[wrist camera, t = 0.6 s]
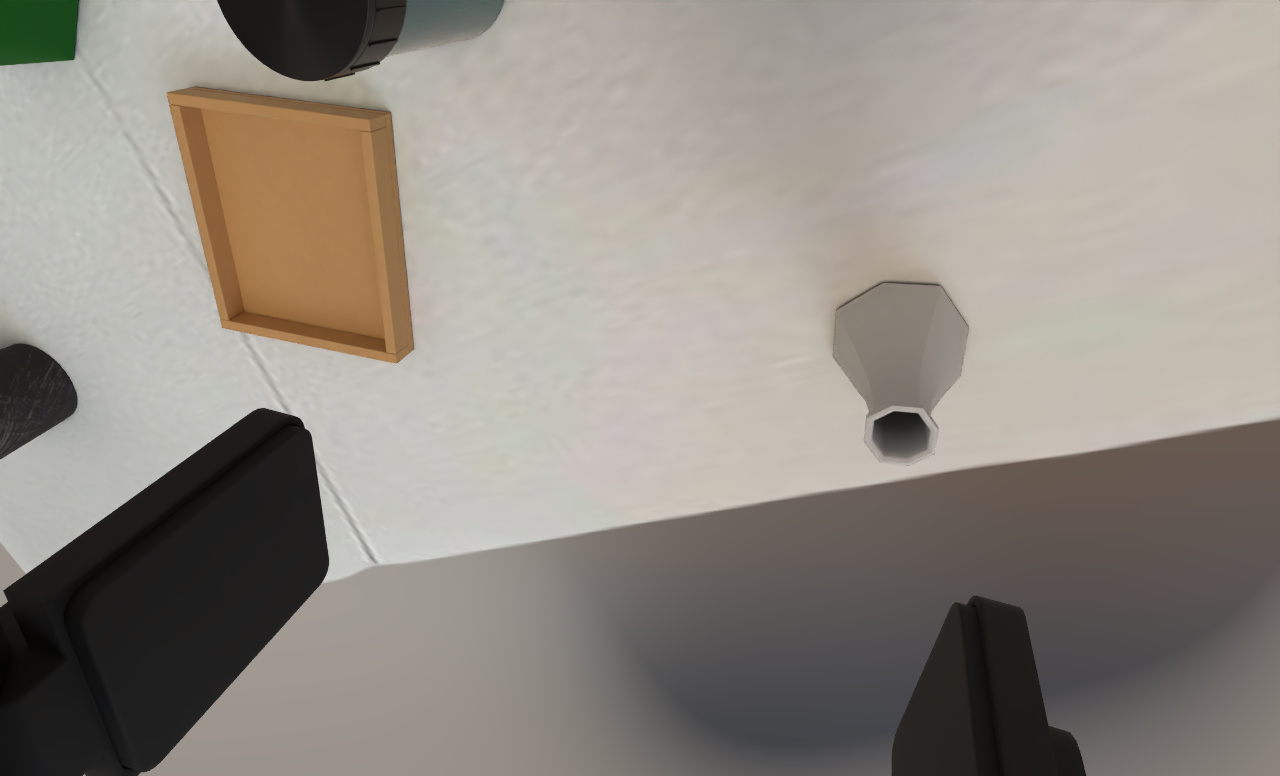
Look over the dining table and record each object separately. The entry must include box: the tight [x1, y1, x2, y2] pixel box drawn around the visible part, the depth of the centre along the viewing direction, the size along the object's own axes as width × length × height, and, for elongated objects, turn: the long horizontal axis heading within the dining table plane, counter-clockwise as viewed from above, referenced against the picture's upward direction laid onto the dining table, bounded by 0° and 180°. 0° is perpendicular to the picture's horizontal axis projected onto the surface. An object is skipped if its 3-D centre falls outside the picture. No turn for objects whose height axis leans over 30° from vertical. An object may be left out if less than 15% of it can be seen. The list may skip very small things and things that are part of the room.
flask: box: [833, 283, 969, 466], centre depth 38 cm, size 7×7×10 cm
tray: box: [167, 87, 414, 363], centre depth 49 cm, size 15×13×2 cm
